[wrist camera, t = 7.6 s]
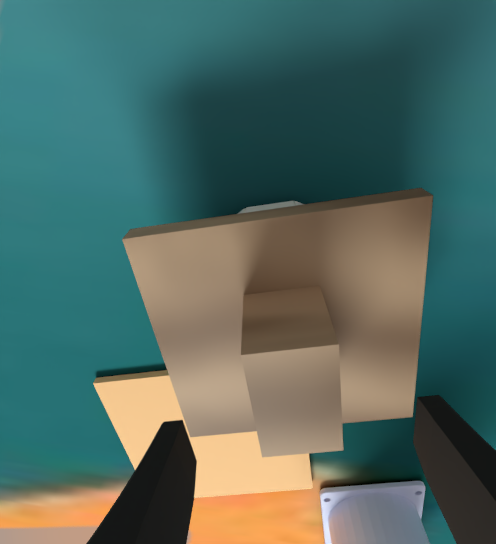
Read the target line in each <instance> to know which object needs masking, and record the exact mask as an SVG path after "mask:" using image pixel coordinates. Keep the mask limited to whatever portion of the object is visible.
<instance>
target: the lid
mask: <svg viewBox="0 0 496 544" xmlns="http://www.w3.org/2000/svg"><path fill="white" fill-rule="evenodd" d="M432 202H433V195H431V194H430V193H428V192H427V191H425V190H424V189H422V188H416V189H409V190H402V191H395V192H388V193H381V194H374V195H367V196H360V197H353V198H346V199H339V200H332V201H325V202H318V203H311V204H304V205H297V206H290V207H283V208H276V209H269V210H261V211H254V212H247V213H240V214H233V215H226V216H219V217H212V218H205V219H198V220H191V221H184V222H177V223H170V224H163V225H156V226H149V227H142V228H135V229H130V230H129V232H128V233H127V234H126V235H125V237H124V238H123V239H122V240H123V243H124V246H125V249H126V252H127V254H128V257H129V260H130V263H131V266H132V269H133V272H134V275H135V278H136V281H137V284H138V286H139V289H140V292H141V295H142V298H143V301H144V304H145V307H146V310H147V313H148V316H149V318H150V321H151V324H152V327H153V330H154V333H155V336H156V339H157V342H158V345H159V348H160V350H161V353H162V356H163V359H164V362H165V365H166V368H167V371H168V374H169V377H170V380H171V382H172V385H173V388H174V391H175V394H176V397H177V400H178V403H179V406H180V409H181V412H182V414H183V417H184V420H185V423H186V426H187V429H188V432H189V435H190V437H199V436H210V435H221V434H232V433H243V432H254V431H257V435H258V440H259V444H260V449H261V454H262V457H273V456H285V455H296V454H308V453H320V452H331V451H343V429H342V423H352V422H363V421H374V420H385V419H396V418H406V417H413V407H414V397H415V386H416V375H417V364H418V353H419V343H420V332H421V321H422V310H423V299H424V289H425V278H426V267H427V256H428V245H429V235H430V224H431V213H432Z"/></svg>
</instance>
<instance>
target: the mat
mask: <svg viewBox="0 0 496 544" xmlns="http://www.w3.org/2000/svg"><path fill="white" fill-rule="evenodd" d="M93 384H94V386H95V389H96V391H97V393H98V395H99V397H100V399H101V401H102V403H103V405H104V407H105V409H106V411H107V413H108V415H109V417H110V419H111V421H112V423H113V425H114V428H115V430H116V432H117V434H118V436H119V438H120V440H121V442H122V444H123V446H124V448H125V450H126V452H127V454H128V456H129V458H130V460H131V462H132V465H133V467H134V469H135V470H136V468H137V467H138V465H139V463H140V461H141V460H142V458H143V456H144V455H145V453H146V451H147V449H148V448H149V446H150V444H151V442H152V441H153V439H154V437H155V435H156V433H157V432H158V430H159V428H160V426H161V424H162V423H163V422H166V421H176V420H183V423H184V425H185V428H186V431H187V434H188V437H189V440H190V443H191V446H192V448H193V451H194V454H195V457H196V460H197V466H196V481H195V494H194V498H199V497H212V496H224V495H237V494H250V493H263V492H275V491H288V490H301V489H313V485H312V476H311V467H310V459H309V453H308V454H296V455H285V456H273V457H262V454H261V449H260V444H259V440H258V435H257V431H254V432H243V433H232V434H221V435H210V436H199V437H190V435H189V432H188V429H187V426H186V423H185V420H184V417H183V414H182V412H181V409H180V406H179V403H178V400H177V397H176V394H175V391H174V388H173V385H172V382H171V380H170V377H169V374H168V371H167V370H163V371H153V372H144V373H135V374H126V375H117V376H108V377H98V378H96V379H95V381H94V383H93Z"/></svg>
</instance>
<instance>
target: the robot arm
mask: <svg viewBox="0 0 496 544" xmlns="http://www.w3.org/2000/svg"><path fill="white" fill-rule="evenodd" d="M413 443H414V446H415V449H416V452H417V455H418V458H419V461H420V463H421V466H422V469H423V472H424V474H425V477H426V480H427V482H428V484H429V486H430V488H431V490H432V492H433V495H434V497H435V499H436V501H437V503H438V505H439V507H440V509H441V511H442V514H443V516H444V518H445V520H446V522H447V524H448V526H449V528H450V530H451V532H452V535H453V537H454V539H455V541H456V543H457V544H496V450H495V449H494V448H492V447H491V446H490V445H489V444H488V443H487V442H486V441H485V440H484V439H483V438H482V437H481V436H480V435H479V434H478V433H477V432H476V431H475V430H474V429H473V428H472V427H471V426H470V425H469V424H468V423H467V422H466V421H465V420H464V419H463V418H461V417H460V415H459V414H458V413H457V412H456V411H455V410H454V409H453V408H452V407H451V406H450V405H449V404H448V403H447V402H446V401H445V400H444V399H443V398H442V397H440V396H439V395H435V396H425V397H417V407H416V418H415V428H414V439H413ZM196 466H197V460H196V457H195V454H194V451H193V448H192V446H191V443H190V440H189V437H188V434H187V431H186V428H185V425H184V423H183V420H176V421H166V422H163V423H162V424H161V426H160V428H159V430H158V432H157V433H156V435H155V437H154V439H153V441H152V442H151V444H150V446H149V448H148V449H147V451H146V453H145V455H144V456H143V458H142V460H141V461H140V463H139V465H138V467H137V468H136V470H135V471H134V473H133V475H132V476H131V478H130V480H129V481H128V483H127V484H126V486H125V488H124V489H123V491H122V492H121V494H120V496H119V497H118V499H117V500H116V502H115V503H114V505H113V506H112V508H111V509H110V511H109V512H108V514H107V515H106V517H105V518H104V520H103V521H102V522H101V524H100V525H99V527H98V528H97V530H96V531H95V533H94V534H93V535H92V537H91V538H90V540H89V541H88V542H87V544H186V541H187V535H188V530H189V524H190V519H191V513H192V507H193V501H194V494H195V481H196ZM424 495H425V485H424V483H423V482H422V481H407V482H394V483H381V484H368V485H356V486H343V487H330V488H323V489H321V490H320V501H321V510H322V520H323V530H324V540H325V544H430V543H429V540H428V537H427V535H426V532H425V530H424V527H423V524H422V522H421V518H422V510H423V503H424Z"/></svg>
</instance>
